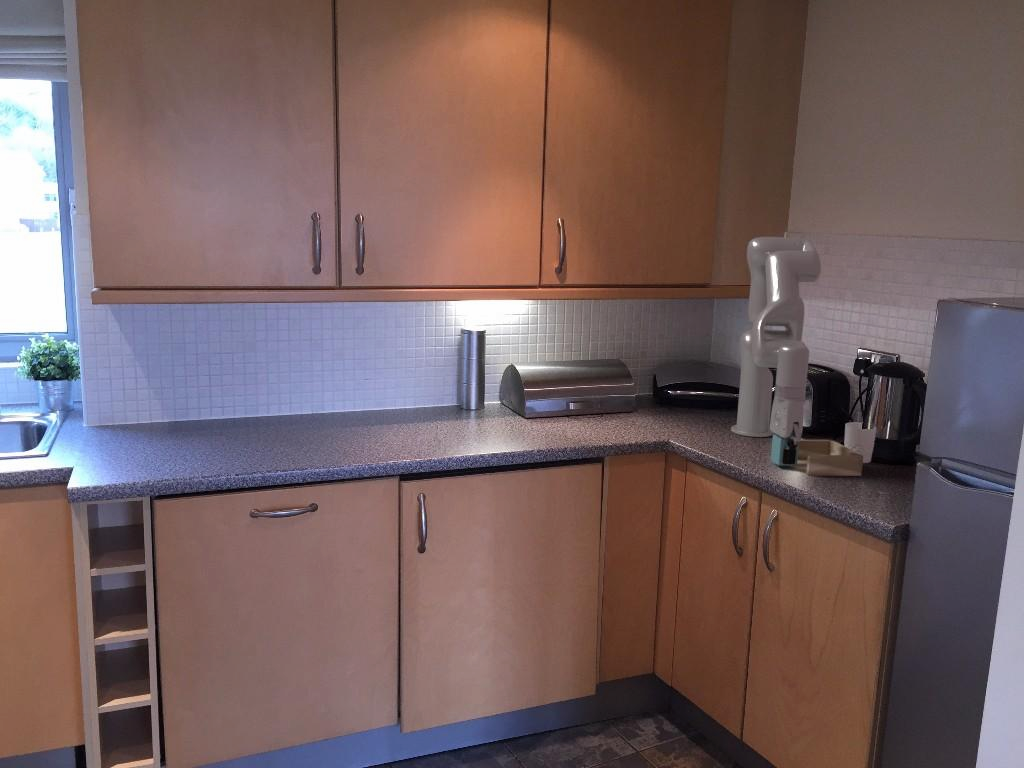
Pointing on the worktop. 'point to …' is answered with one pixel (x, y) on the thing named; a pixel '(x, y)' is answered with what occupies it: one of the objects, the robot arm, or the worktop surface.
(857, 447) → the white cup
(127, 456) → the worktop surface
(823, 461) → the birch box
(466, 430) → the worktop surface
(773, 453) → the teal block
